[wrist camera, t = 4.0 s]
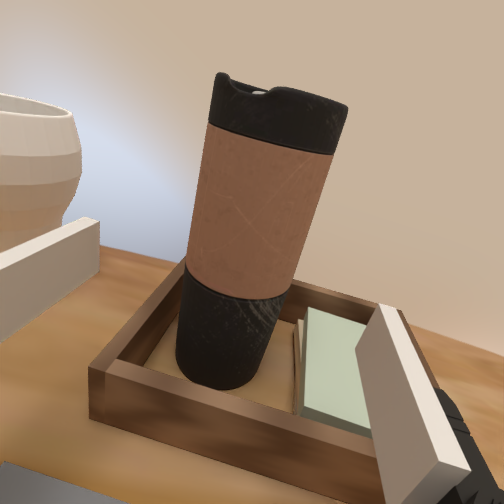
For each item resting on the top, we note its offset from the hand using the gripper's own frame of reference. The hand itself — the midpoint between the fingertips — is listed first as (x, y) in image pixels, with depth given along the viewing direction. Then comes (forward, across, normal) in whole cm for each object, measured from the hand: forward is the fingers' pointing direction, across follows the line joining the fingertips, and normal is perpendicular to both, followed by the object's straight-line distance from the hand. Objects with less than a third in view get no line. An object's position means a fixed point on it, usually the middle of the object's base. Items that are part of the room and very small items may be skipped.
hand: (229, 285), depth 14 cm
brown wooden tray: (+7, +5, -11) cm, 14 cm away
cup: (+9, -21, -12) cm, 25 cm away
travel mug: (+7, 0, -12) cm, 14 cm away
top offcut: (+7, +10, -10) cm, 16 cm away
